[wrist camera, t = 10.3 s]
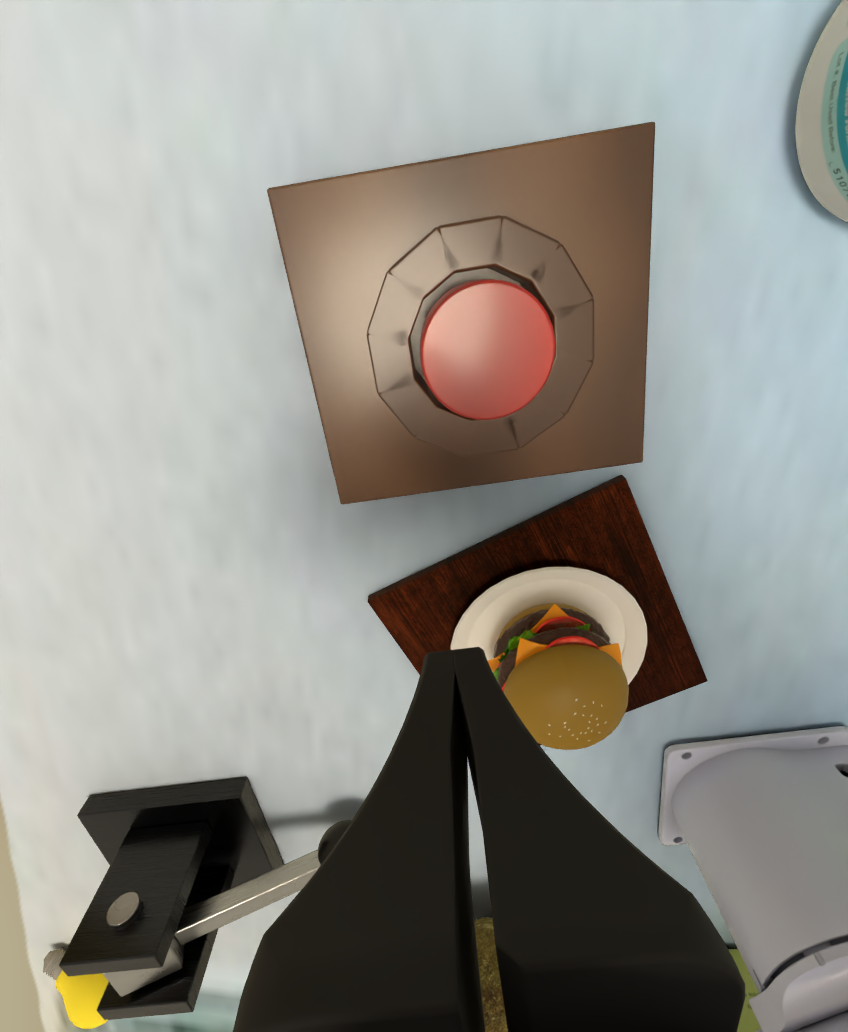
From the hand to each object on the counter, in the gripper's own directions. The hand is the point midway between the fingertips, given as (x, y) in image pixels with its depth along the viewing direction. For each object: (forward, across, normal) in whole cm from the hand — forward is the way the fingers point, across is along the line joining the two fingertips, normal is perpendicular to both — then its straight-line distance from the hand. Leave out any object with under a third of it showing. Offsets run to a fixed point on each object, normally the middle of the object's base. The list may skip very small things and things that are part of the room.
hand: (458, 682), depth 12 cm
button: (+6, -2, -7) cm, 10 cm away
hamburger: (+10, -4, +7) cm, 13 cm away
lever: (+8, +13, +18) cm, 24 cm away
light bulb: (+9, +27, +28) cm, 40 cm away
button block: (+10, -2, -7) cm, 12 cm away
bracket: (+10, +17, +18) cm, 27 cm away
